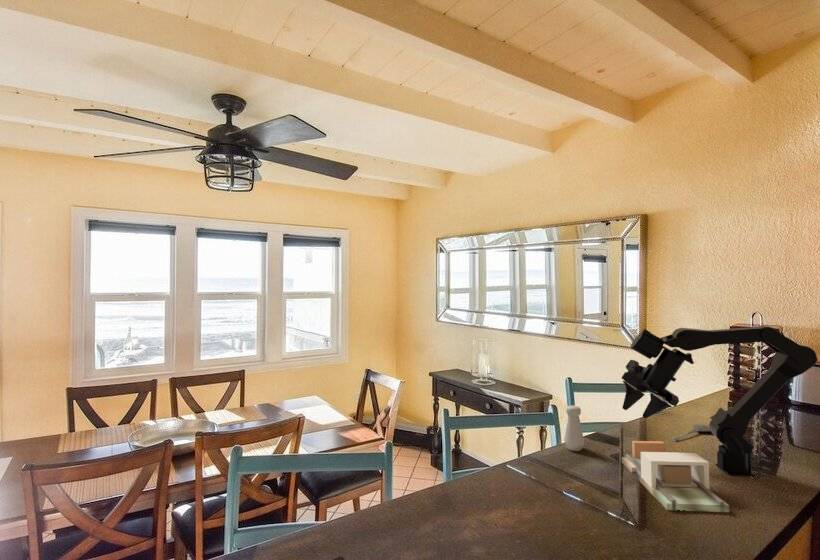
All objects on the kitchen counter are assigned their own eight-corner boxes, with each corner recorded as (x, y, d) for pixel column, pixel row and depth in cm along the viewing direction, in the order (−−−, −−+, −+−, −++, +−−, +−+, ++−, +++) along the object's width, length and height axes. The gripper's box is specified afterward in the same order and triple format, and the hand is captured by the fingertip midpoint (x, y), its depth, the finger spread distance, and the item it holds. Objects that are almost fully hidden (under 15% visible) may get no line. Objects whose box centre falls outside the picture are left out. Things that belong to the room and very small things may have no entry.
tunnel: (695, 478, 110) (694, 452, 110) (709, 489, 104) (708, 462, 104) (641, 477, 111) (640, 451, 111) (651, 487, 105) (651, 461, 105)
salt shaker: (585, 452, 131) (584, 409, 132) (565, 451, 133) (564, 408, 133) (582, 445, 137) (581, 404, 137) (563, 444, 138) (562, 403, 138)
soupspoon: (720, 435, 148) (699, 431, 153) (719, 425, 148) (699, 421, 154) (683, 445, 137) (662, 440, 143) (682, 434, 137) (662, 429, 143)
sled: (662, 458, 122) (662, 441, 122) (697, 487, 104) (696, 467, 104) (632, 458, 123) (632, 440, 123) (661, 486, 105) (661, 466, 105)
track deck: (670, 463, 122) (670, 455, 122) (729, 512, 96) (729, 501, 96) (621, 462, 124) (621, 454, 124) (666, 510, 97) (666, 499, 97)
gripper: (661, 363, 134) (632, 405, 136) (623, 344, 126) (593, 388, 129) (693, 383, 124) (661, 428, 126) (654, 363, 116) (621, 411, 119)
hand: (634, 413), depth 125 cm, fingers open, 9 cm apart
